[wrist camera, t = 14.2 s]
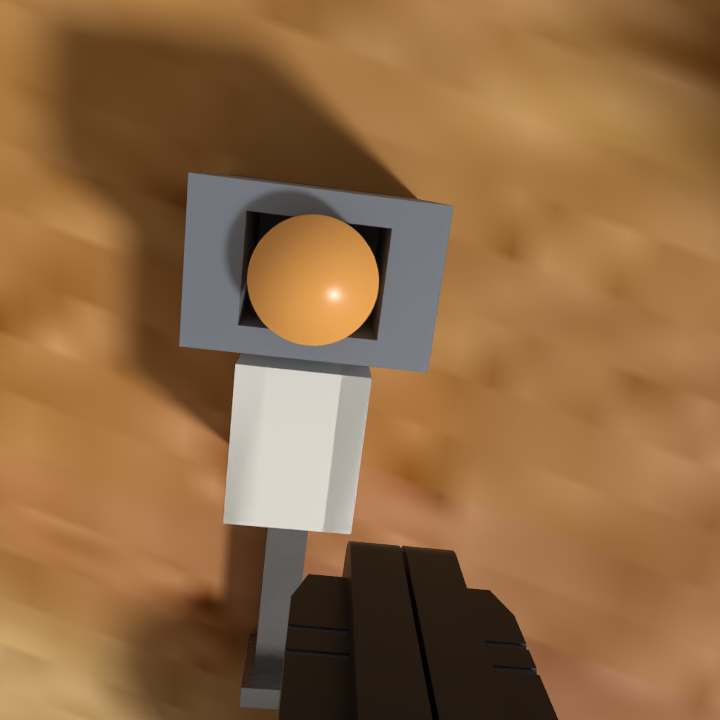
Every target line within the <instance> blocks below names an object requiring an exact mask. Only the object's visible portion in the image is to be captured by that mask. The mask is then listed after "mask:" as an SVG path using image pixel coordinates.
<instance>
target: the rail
mask: <svg viewBox="0 0 720 720" xmlns="http://www.w3.org/2000/svg"><path fill="white" fill-rule="evenodd" d="M307 533H308V531H306V530H294V529H282V528H271V527H268V530H267V540H266V551H265V561H264V571H263V582H262V592H261V602H260V613H259V623H258V634H257V635H250V639H249V645H248V650H247V656H246V662H245V668H244V674H243V680H242V686H241V696H240V707H245V708H261V709H277V710H278V705H279V695H280V686H281V678H282V669H283V660H284V652H285V643H286V635H287V626H288V618H289V609H290V600H291V596H292V594H293V593H294V592H295V591H296V589H297V588H298V587H299V586H300V584H301V583H302V576H303V568H304V559H305V550H306V541H307Z"/></svg>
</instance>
